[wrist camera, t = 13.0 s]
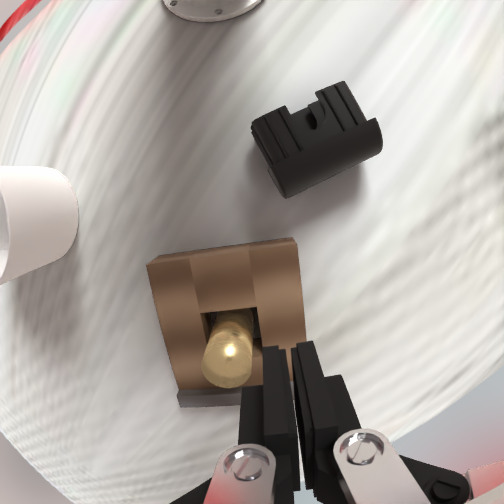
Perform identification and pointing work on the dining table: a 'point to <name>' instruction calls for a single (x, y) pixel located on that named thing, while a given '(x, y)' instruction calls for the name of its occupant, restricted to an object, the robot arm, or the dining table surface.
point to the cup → (34, 219)
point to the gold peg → (229, 349)
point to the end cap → (316, 140)
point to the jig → (226, 308)
